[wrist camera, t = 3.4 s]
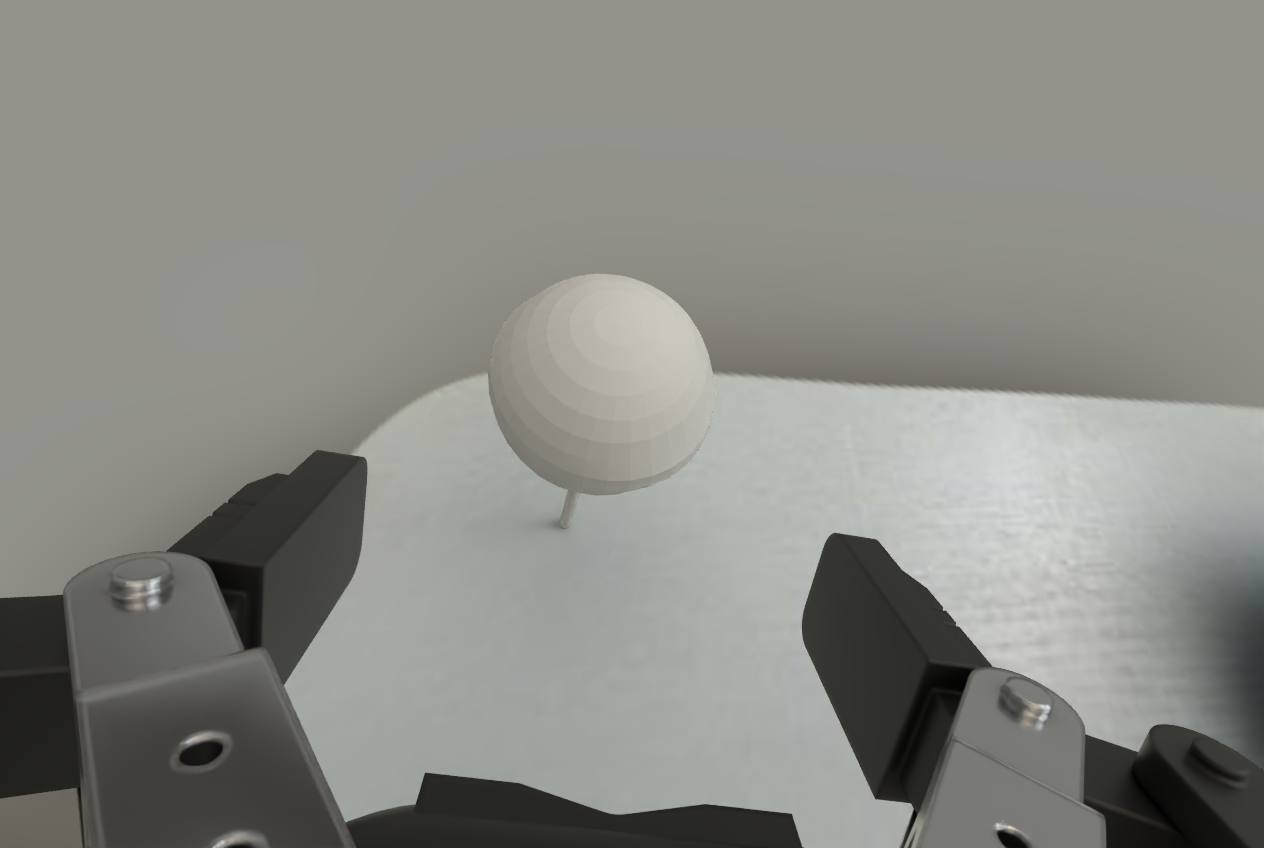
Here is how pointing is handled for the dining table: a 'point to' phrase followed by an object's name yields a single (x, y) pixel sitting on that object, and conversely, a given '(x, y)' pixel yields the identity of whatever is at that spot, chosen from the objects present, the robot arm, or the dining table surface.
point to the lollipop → (601, 386)
